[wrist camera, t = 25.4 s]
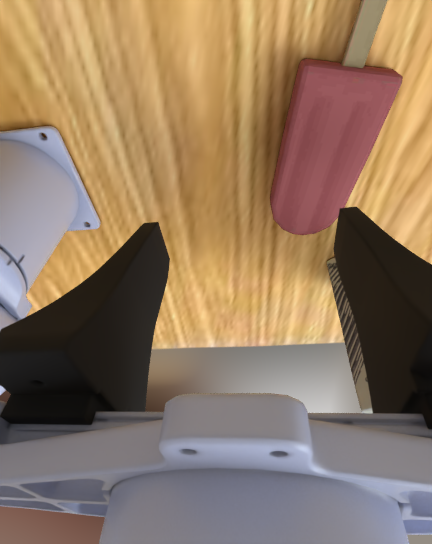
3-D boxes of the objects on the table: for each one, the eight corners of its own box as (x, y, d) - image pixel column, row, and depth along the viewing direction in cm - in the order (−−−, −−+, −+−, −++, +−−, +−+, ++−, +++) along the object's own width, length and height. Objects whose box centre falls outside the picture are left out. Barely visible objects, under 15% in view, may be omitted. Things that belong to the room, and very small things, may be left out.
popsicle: (457, -37, 14) (333, 240, 24) (441, -38, 15) (329, 227, 25) (332, -53, 14) (262, 232, 24) (325, -53, 15) (261, 219, 25)
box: (384, 232, 25) (463, 392, 16) (403, 265, 28) (482, 422, 18) (321, 261, 28) (359, 413, 19) (343, 290, 30) (386, 438, 21)
